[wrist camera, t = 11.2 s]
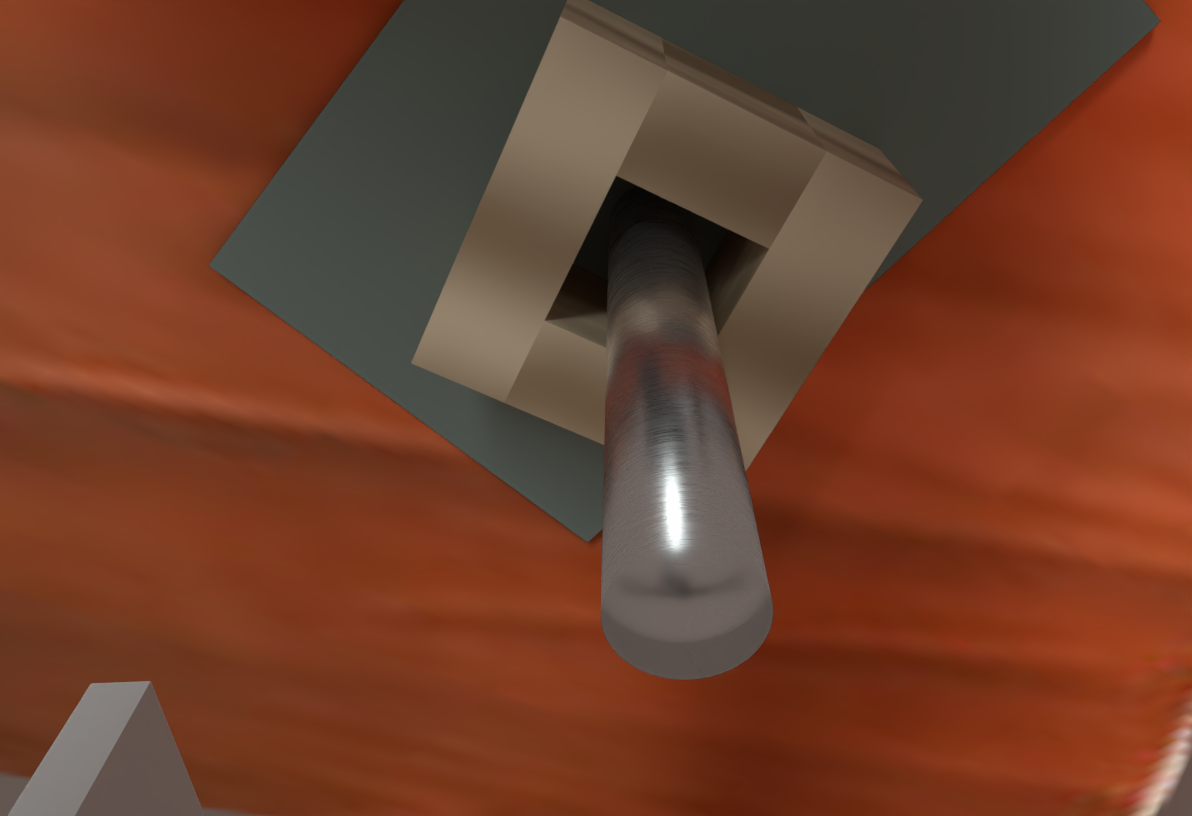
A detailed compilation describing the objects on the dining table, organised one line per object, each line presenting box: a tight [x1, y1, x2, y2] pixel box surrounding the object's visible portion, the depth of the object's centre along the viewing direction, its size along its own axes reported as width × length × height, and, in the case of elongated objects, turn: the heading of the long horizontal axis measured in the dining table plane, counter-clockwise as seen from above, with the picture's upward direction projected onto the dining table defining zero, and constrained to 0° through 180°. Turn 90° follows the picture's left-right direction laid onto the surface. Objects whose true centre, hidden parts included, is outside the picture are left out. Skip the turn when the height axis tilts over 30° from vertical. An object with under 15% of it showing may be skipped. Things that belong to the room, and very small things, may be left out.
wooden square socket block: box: [411, 0, 923, 472], centre depth 29 cm, size 10×10×5 cm
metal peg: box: [601, 186, 773, 680], centre depth 23 cm, size 3×3×18 cm
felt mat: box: [209, 0, 1161, 543], centre depth 30 cm, size 24×16×1 cm, turn 138°
